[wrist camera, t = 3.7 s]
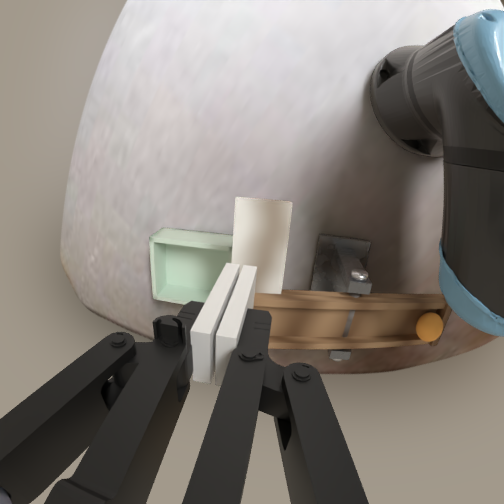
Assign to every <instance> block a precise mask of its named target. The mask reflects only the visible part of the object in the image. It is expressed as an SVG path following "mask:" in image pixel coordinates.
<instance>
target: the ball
mask: <svg viewBox="0 0 504 504" xmlns="http://www.w3.org/2000/svg"><path fill="white" fill-rule="evenodd" d="M442 330H443V322H442V319H441V318H440V316H439V315H437V314H436V313H432V312H429V313H425V314H423V315H422V316H421V317H420V318H419V319H418V321H417V324H416V332H417V335H418V337H419V338H420V339H421V340H423V341H426V342H431V341H434V340H436V339H437V338H438V337H439V336H440V335H441V333H442Z"/></svg>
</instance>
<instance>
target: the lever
mask: <svg viewBox="0 0 504 504" xmlns="http://www.w3.org/2000/svg"><path fill="white" fill-rule="evenodd" d="M291 213H292V202H291V201H281V200H269V199H257V198H244V197H236V199H235V214H234V230H233V246H232V264H240V270H239V275H240V273H241V270H242V268H243V265H248V266H256V267H257V274H256V284H255V295H254V305H253V309H257V310H264V311H269V313H270V315H271V316H272V322H271V330H270V337H269V345H268V348H273V349H359V348H381V347H396V346H409V345H421V344H430V345H431V346H435V345H437V343H438V341H439V339H440V337H441V335H442V333H441V335H440V336H439V337H438V338H437V339H436V340H434V341H431V342H426V341H423V340H421V339H420V338H419V337H418V335H417V332H416V324H417V321H418V319H419V318H420V317H421V316H422V315H423V314H425V313H429V312H432V313H436V314H437V315H439V316H440V318H441V319H442V322H443V330H444V328H445V325H446V323H447V321H448V318H449V316H450V313H451V311H452V308H451V307H450V306H449V305H448V303H447V302H446V300H445V297H444V295H443V294H388V293H370V294H369V295H368V294H358V293H348V292H325V291H303V290H283V289H282V283H283V276H284V269H285V261H286V254H287V246H288V238H289V230H290V221H291ZM443 330H442V332H443Z"/></svg>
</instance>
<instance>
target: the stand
mask: <svg viewBox="0 0 504 504" xmlns="http://www.w3.org/2000/svg"><path fill="white" fill-rule="evenodd" d="M370 245H371V242H370V241H368V240H361V239H354V238H346V237H339V236H331V235H323V234H320V236H319V242H318V248H317V254H316V260H315V266H314V272H313V278H312V283H311V288H310V291H325V292H348V293H358V294H368V295H369V294H370V290H371V287H372V283H371V281H370V279H369V277H368V273H367V272H366V271H365V268H366V263H367V259H368V254H369V250H370ZM328 354H329V359H332V360H334V361H342V360H349V357H350V355H351V349H328Z"/></svg>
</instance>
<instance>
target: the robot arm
mask: <svg viewBox="0 0 504 504" xmlns="http://www.w3.org/2000/svg"><path fill="white" fill-rule="evenodd" d="M370 95H371V102H372V106H373V109H374V112H375V115H376V117H377V119H378V121H379V123H380V125H381V126H382V128H383V129H384V131H385V132H386V133H387V134H388V135H389V137H390V138H391V139H392V140H393V141H395V142H396V143H397V144H398V145H399V146H401V147H402V148H404V149H406V150H408V151H410V152H412V153H415V154H418V155H423V156H432V157H438V156H443V157H444V160H443V168H444V207H443V224H442V236H441V239H440V243H439V253H440V268H439V285H440V289H441V291H442V293H443V295H444V297H445V300H446V302H447V303H448V305H449V306H450V307H451V308H452V310H453V311H454V312H455V313H456V314H457V315H458V316H459V317H460V318H462V319H463V320H464V321H466V322H467V323H468V324H470V325H472V326H473V327H475V328H477V329H479V330H481V331H483V332H485V333H488V334H492V335H495V336H504V11H501V10H496V9H487V10H483V11H480V12H478V13H475V14H473V15H470V16H468V17H463V18H461V19H459V20H458V21H457V22H456V24H455V25H453V26H452V27H451V28H449V29H448V30H446V31H445V32H443V33H442V34H440V35H439V36H437V37H436V38H434V39H433V40H431V41H430V42H429V43H427V44H426V45H424V46H404V47H400V48H397V49H395V50H393V51H391V52H390V53H389V54H387V55H386V56H385V57H384V58H383V59H382V60H381V61H380V62H379V63H378V65H377V66H376V68H375V70H374V72H373V75H372V79H371V85H370ZM239 270H240V264H232V263H226V265H225V267H224V268H223V270H222V272H221V274H220V276H219V278H218V280H217V281H216V283H215V285H214V287H213V289H212V291H211V293H210V294H209V296H208V298H207V300H206V302H205V303H204V302H197V301H190V302H188V303H187V304H185V305H184V306H183V308H182V309H181V311H180V312H179V314H178V315H177V316H173V315H166V316H161V317H158V318H156V319H155V320H154V321H153V329H154V337H155V339H154V340H153V342H146V343H145V342H135V340H134V338H133V336H132V335H130V334H129V333H125V332H116V333H112V334H110V335H109V336H107V337H105V338H104V339H103V340H101V341H100V342H99V343H97V344H96V345H95V346H93V347H92V348H91V349H89V350H88V351H87V352H86V353H84V354H83V355H82V356H80V357H79V358H78V359H76V360H75V361H74V362H73V363H71V364H70V365H68V366H67V367H66V368H65V369H63V370H62V371H61V372H59V373H58V374H57V375H56V376H54V377H53V378H52V379H50V380H49V381H48V382H47V383H45V384H44V385H43V386H41V387H40V388H39V389H38V390H36V391H35V392H34V393H33V394H31V395H30V396H29V397H27V398H26V399H25V400H24V401H22V402H21V403H20V404H19V405H17V406H16V407H15V408H14V409H12V410H11V411H10V412H9V413H8V414H6V415H5V416H4V417H3V418H1V419H0V504H29V503H31V502H32V501H33V500H34V499H36V498H37V497H38V496H39V495H40V494H41V493H42V492H43V491H44V490H45V489H46V488H47V487H48V486H49V485H50V484H51V483H52V482H53V481H55V479H56V478H57V477H59V476H60V475H61V474H62V473H63V472H64V470H66V468H68V467H69V466H70V465H71V464H72V462H74V461H75V460H76V459H77V458H78V457H79V456H80V455H81V453H83V452H84V451H85V450H86V449H87V448H88V446H89V445H90V446H89V448H88V449H87V451H86V453H85V455H84V456H83V458H82V460H81V462H80V464H79V466H78V467H77V469H76V471H75V472H74V474H73V476H72V477H70V478H69V479H61V480H60V481H58V482H57V483H56V484H55V486H54V487H53V489H52V490H51V492H50V494H49V496H48V497H47V499H46V501H45V503H44V504H146V502H147V499H148V496H149V494H150V491H151V489H152V486H153V483H154V480H155V478H156V475H157V473H158V470H159V467H160V465H161V462H162V460H163V457H164V454H165V452H166V449H167V446H168V444H169V441H170V438H171V436H172V433H173V431H174V428H175V426H176V423H177V420H178V418H179V415H180V413H181V410H182V408H183V405H184V402H185V400H186V397H187V394H188V392H189V389H190V378H191V375H192V373H193V380H194V381H198V382H203V383H208V384H211V381H212V378H213V375H214V372H215V370H216V385H219V386H221V388H220V391H219V394H218V397H217V400H216V403H215V406H214V409H213V413H212V415H211V418H210V421H209V424H208V428H207V431H206V434H205V437H204V440H203V443H202V446H201V449H200V452H199V455H198V458H197V461H196V464H195V467H194V470H193V473H192V476H191V479H190V482H189V485H188V488H187V491H186V494H185V497H184V499H183V502H182V504H240V503H241V498H242V494H243V489H244V484H245V479H246V474H247V469H248V464H249V459H250V454H251V448H252V443H253V437H254V431H255V427H256V421H257V416H258V410H259V411H262V412H264V413H267V414H269V415H272V416H274V422H275V426H276V431H277V436H278V442H279V447H280V452H281V456H282V462H283V467H284V472H285V476H286V481H287V486H288V491H289V496H290V501H291V504H369V503H368V500H367V497H366V495H365V492H364V489H363V487H362V484H361V481H360V478H359V476H358V473H357V470H356V468H355V465H354V462H353V460H352V457H351V454H350V452H349V449H348V447H347V444H346V441H345V438H344V436H343V433H342V431H341V428H340V425H339V423H338V420H337V418H336V415H335V412H334V410H333V407H332V405H331V402H330V399H329V397H328V394H327V392H326V389H325V387H324V384H323V382H322V379H321V377H320V374H319V372H318V371H317V369H316V368H314V367H313V366H311V365H309V364H306V363H293V364H290V365H289V366H287V367H283V366H280V365H278V364H276V363H275V362H273V361H272V360H271V359H270V358H269V356H268V345H269V337H270V330H271V322H272V316H271V315H270V313H269V311H264V310H257V309H253V305H254V295H255V284H256V274H257V267H256V266H248V265H243V268H242V270H241V273H240V275H239ZM111 376H112V378H111V379H109V378H110V377H111ZM108 379H109V380H108Z"/></svg>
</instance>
